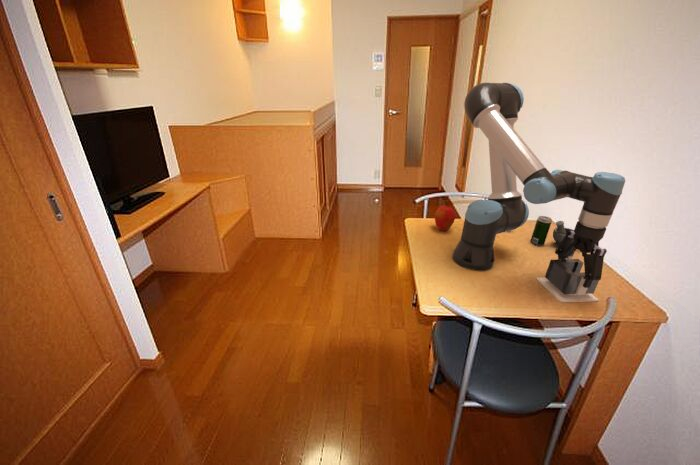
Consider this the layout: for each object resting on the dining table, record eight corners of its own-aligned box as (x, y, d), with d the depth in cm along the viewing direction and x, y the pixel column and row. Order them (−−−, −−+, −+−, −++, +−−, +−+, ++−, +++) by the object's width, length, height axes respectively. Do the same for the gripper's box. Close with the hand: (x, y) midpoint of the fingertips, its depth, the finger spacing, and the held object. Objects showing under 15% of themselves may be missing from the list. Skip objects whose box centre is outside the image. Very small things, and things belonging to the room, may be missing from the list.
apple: (430, 225, 152) (433, 201, 147) (448, 225, 153) (452, 201, 148) (436, 234, 144) (440, 209, 139) (455, 233, 145) (460, 209, 140)
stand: (561, 273, 118) (569, 252, 114) (554, 266, 121) (561, 246, 118) (573, 273, 118) (581, 252, 114) (564, 266, 122) (572, 246, 118)
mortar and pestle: (564, 241, 142) (573, 216, 136) (581, 251, 133) (591, 225, 128) (541, 241, 140) (549, 216, 135) (556, 252, 132) (566, 226, 127)
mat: (560, 302, 102) (561, 301, 102) (536, 279, 113) (536, 277, 113) (598, 301, 103) (599, 299, 103) (570, 278, 115) (570, 277, 114)
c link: (564, 294, 102) (571, 276, 99) (544, 276, 111) (550, 259, 108) (593, 293, 103) (601, 275, 100) (571, 276, 112) (578, 259, 109)
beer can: (541, 247, 135) (550, 222, 130) (528, 243, 139) (536, 217, 133) (545, 243, 139) (554, 218, 133) (532, 239, 142) (540, 214, 137)
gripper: (636, 240, 88) (605, 305, 97) (576, 210, 108) (556, 266, 118) (611, 241, 87) (583, 306, 97) (555, 210, 107) (537, 266, 117)
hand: (568, 284), depth 107 cm, fingers closed on c link, 10 cm apart
